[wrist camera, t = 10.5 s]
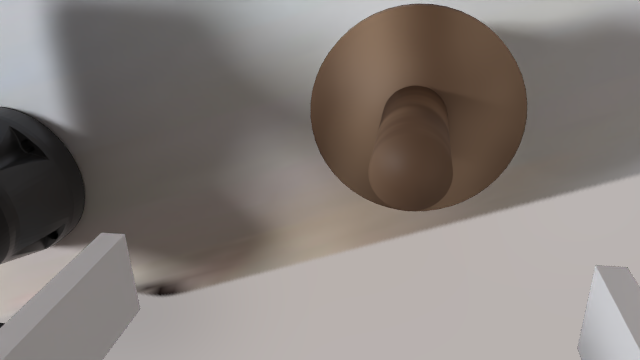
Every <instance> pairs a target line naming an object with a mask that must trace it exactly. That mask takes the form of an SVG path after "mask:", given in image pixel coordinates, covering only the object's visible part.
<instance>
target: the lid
mask: <svg viewBox="0 0 640 360" xmlns="http://www.w3.org/2000/svg"><path fill="white" fill-rule="evenodd" d="M526 118H527V97H526V89H525V85H524V81H523V77H522V74H521V72H520V70H519V67H518V65H517V62H516V61H515V59H514V58H513V56H512V54H511V53H510V51H509V49H508V48H507V46H506V45H505V44H504V43H503V42H502V40H501V39H500V38H499V37H498V36H497V35H496V34H495V33H494V32H493V31H492V30H491V29H490V28H489V27H487V26H486V25H485V24H483V23H482V22H480V21H479V20H477V19H476V18H474V17H472V16H470V15H468V14H466V13H464V12H462V11H459V10H456V9H453V8H449V7H446V6H440V5H434V4H409V5H401V6H397V7H393V8H388V9H386V10H383V11H380V12H378V13H375V14H373V15H371V16H369V17H368V18H366V19H364V20H362V21H361V22H359V23H358V24H357V25H355V26H354V27H352V28H351V29H350V30H349V31H348V32H347V33H346V34H345V35H344V36H343V37H341V38H340V40H339V41H338V42H337V43H336V44H335V46H334V47H333V48H332V49H331V51H330V52H329V53H328V55H327V57H326V58H325V60H324V62H323V63H322V65H321V67H320V69H319V72H318V74H317V76H316V79H315V83H314V87H313V90H312V97H311V123H312V130H313V134H314V137H315V141H316V144H317V146H318V148H319V151H320V153H321V155H322V157H323V158H324V160H325V162H326V164H327V165H328V166H329V168H330V169H331V170H332V172H333V173H334V174H335V175H336V176H337V177H338V178H339V179H340V180H341V182H342V183H344V184H345V185H346V186H347V187H349V188H350V189H351V190H352V191H354V192H355V193H357V194H358V195H360V196H362V197H363V198H365V199H367V200H370V201H372V202H374V203H376V204H379V205H382V206H385V207H389V208H393V209H398V210H404V211H428V210H436V209H441V208H445V207H449V206H452V205H455V204H458V203H460V202H463V201H465V200H467V199H469V198H471V197H473V196H475V195H476V194H478V193H479V192H481V191H482V190H484V189H485V188H487V187H488V186H489V185H490V184H491V183H492V182H493V181H495V180H496V179H497V178H498V177H499V176H500V174H501V173H502V172H503V171H504V170H505V169H506V168H507V166H508V164H509V163H510V161H511V160H512V158H513V157H514V155H515V153H516V151H517V149H518V147H519V145H520V142H521V139H522V136H523V133H524V129H525V124H526Z"/></svg>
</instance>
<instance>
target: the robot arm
mask: <svg viewBox="0 0 640 360" xmlns="http://www.w3.org/2000/svg"><path fill="white" fill-rule="evenodd" d="M83 208H84V186H83V182H82V178H81V175H80V172H79V169H78V167H77V165H76V163H75V161H74V159H73V157H72V156H71V154H70V153H69V151H68V150H67V148H66V147H65V146H64V144H63V143H62V142H61V141H60V140H59V139H58V138H57V137H56V136H55V135H54V134H53V133H52V132H51V131H50V130H49V129H48V128H46V127H45V126H44V125H42V124H41V123H40V122H38V121H36V120H35V119H33V118H31V117H29V116H28V115H25V114H23V113H21V112H18V111H15V110H12V109H8V108H2V107H0V264H2V263H5V262H8V261H11V260H14V259H17V258H20V257H23V256H26V255H29V254H32V253H35V252H38V251H41V250H44V249H47V248H49V247H51V246H52V245H54V244H56V243H57V242H58V241H60V240H61V239H62V238H63V237H64V236H66V235H67V234H68V233H69V232H70V231H71V230H72V229H73V228H74V227H75V226H76V225H77V223H78V221H79V220H80V217H81V215H82V212H83ZM139 310H140V305H139V300H138V295H137V291H136V286H135V281H134V276H133V271H132V266H131V262H130V257H129V252H128V247H127V242H126V237H125V234H114V233H100V234H99V235H98V236H97V237H96V238H95V239H94V240H93V241H92V242H91V243H90V244H89V245H88V246H87V247H86V248H85V249H83V250H82V251H81V252H80V253H79V254H78V255H77V256H76V257H75V258H74V259H73V260H72V261H71V262H70V263H69V264H68V265H66V266H65V267H64V268H63V269H62V270H61V271H60V272H59V273H58V274H57V275H56V276H55V277H54V278H53V279H52V280H51V281H50V282H48V283H47V284H46V285H45V286H44V287H43V288H42V289H41V290H40V291H39V292H38V293H37V294H36V295H35V296H34V297H33V298H32V299H30V300H29V301H28V302H27V303H26V304H25V305H24V306H23V307H22V308H21V309H20V310H19V311H18V312H17V313H16V314H15V315H14V316H12V317H11V319H9V320H8V322H6V323H0V360H103V359H104V357H105V356H106V355H107V353H108V352H109V350H110V349H111V348H112V346H113V345H114V344H115V342H116V341H117V340H118V338H119V337H120V336H121V334H122V333H123V332H124V330H125V329H126V328H127V326H128V325H129V323H130V322H131V321H132V320H133V318H134V317H135V316H136V314H137V313H138V311H139ZM578 351H579V354H580V357H581V360H640V287H639V285H638V284H637V282H636V281H635V279H634V277H633V276H632V274H631V272H630V271H629V269H628V267H615V266H599V265H596V266H595V270H594V275H593V279H592V284H591V288H590V293H589V297H588V302H587V306H586V311H585V316H584V320H583V325H582V329H581V334H580V339H579V343H578Z"/></svg>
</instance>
